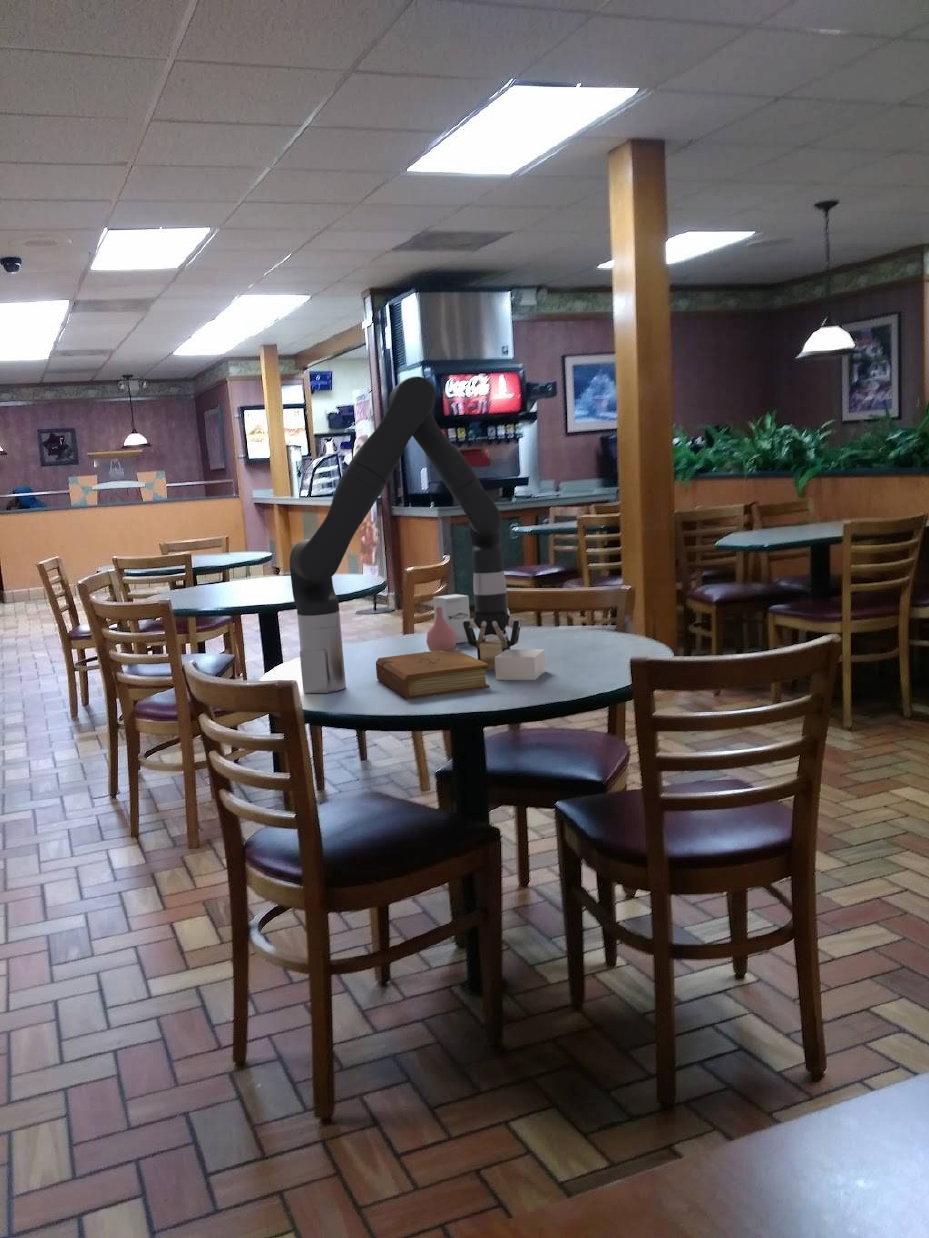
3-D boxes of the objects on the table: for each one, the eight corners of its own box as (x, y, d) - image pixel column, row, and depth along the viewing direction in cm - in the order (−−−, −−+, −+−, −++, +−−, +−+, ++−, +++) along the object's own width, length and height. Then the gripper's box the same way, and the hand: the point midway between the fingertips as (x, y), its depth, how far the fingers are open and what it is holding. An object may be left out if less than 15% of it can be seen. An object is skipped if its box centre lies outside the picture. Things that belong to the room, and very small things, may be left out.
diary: (377, 683, 233) (375, 658, 232) (454, 672, 239) (452, 648, 238) (405, 701, 211) (403, 674, 210) (490, 689, 217) (488, 663, 216)
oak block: (501, 669, 235) (500, 643, 235) (481, 669, 237) (479, 644, 236) (508, 665, 240) (506, 639, 239) (487, 665, 242) (486, 640, 241)
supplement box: (448, 645, 272) (444, 598, 270) (435, 642, 278) (432, 596, 276) (472, 641, 275) (469, 595, 273) (459, 638, 282) (455, 593, 280)
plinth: (535, 679, 221) (534, 657, 221) (496, 679, 224) (494, 657, 224) (546, 671, 230) (544, 649, 229) (507, 671, 233) (506, 649, 232)
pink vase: (459, 650, 263) (455, 604, 261) (455, 656, 256) (452, 608, 254) (429, 652, 264) (426, 606, 262) (425, 657, 256) (421, 610, 255)
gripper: (455, 594, 235) (460, 666, 237) (515, 592, 230) (519, 666, 233) (465, 589, 242) (470, 660, 244) (524, 588, 237) (528, 660, 240)
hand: (494, 663), depth 238 cm, fingers closed on oak block, 5 cm apart
